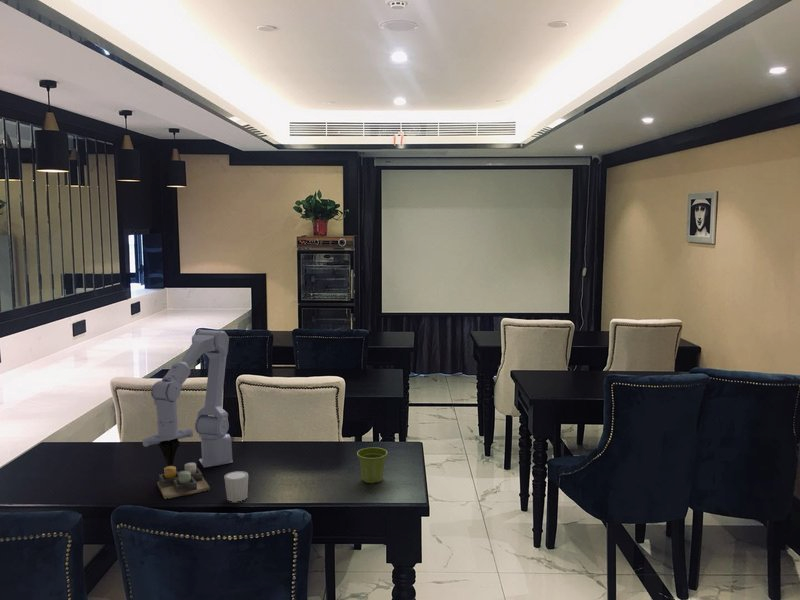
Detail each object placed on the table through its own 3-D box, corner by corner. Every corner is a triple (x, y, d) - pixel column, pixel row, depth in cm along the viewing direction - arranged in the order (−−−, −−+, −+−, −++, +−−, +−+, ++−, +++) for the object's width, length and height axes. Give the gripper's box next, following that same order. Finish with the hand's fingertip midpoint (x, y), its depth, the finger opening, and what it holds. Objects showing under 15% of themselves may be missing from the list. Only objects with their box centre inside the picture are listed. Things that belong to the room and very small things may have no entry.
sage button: (189, 479, 207) (189, 470, 207) (192, 483, 204) (191, 473, 204) (178, 482, 205) (177, 472, 205) (180, 486, 202) (179, 476, 202)
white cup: (227, 494, 202) (226, 471, 202) (250, 493, 203) (249, 470, 202) (223, 503, 196) (222, 480, 195) (247, 502, 196) (246, 479, 195)
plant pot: (392, 476, 215) (391, 449, 214) (381, 487, 206) (381, 459, 205) (364, 472, 218) (363, 446, 217) (352, 483, 209) (352, 456, 208)
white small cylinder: (195, 471, 214) (194, 461, 214) (197, 474, 211) (197, 465, 211) (184, 473, 212) (183, 463, 212) (186, 476, 210) (185, 467, 209)
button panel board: (200, 476, 216) (200, 467, 216) (209, 490, 205) (209, 480, 205) (157, 484, 210) (156, 475, 210) (164, 499, 199) (163, 489, 199)
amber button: (175, 474, 211) (174, 465, 211) (177, 478, 208) (176, 468, 208) (163, 476, 210) (163, 467, 209) (165, 480, 207) (165, 470, 206)
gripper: (185, 413, 214) (187, 455, 216) (138, 422, 205) (140, 466, 207) (194, 418, 209) (196, 461, 210) (146, 427, 200) (148, 472, 202)
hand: (169, 464), depth 208 cm, fingers closed
